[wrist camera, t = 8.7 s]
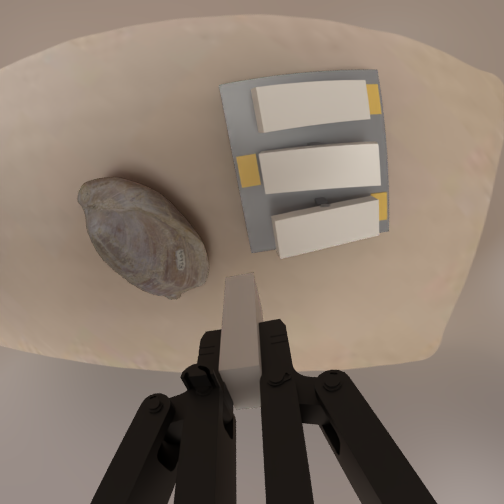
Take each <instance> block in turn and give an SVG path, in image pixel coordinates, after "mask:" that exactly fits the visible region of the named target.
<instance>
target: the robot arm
mask: <svg viewBox="0 0 504 504" xmlns="http://www.w3.org/2000/svg"><path fill="white" fill-rule="evenodd" d="M199 348H200V349H199V356H198V361H197V364H194V365H191V366H189V367H188V368H186V369H185V370H184V371H183V372H182V375H181V379H182V381H183V383H184V385H185V386H186V388H187V391H186V392H184V393H182V394H180V395H177V396H174V397H171V398H168V397H167V396H166V395H164V394H161V393H157V394H153V395H150V396H148V397H147V398H146V399H145V400H144V401H143V402H142V404H141V406H140V407H139V409H138V411H137V413H136V415H135V417H134V419H133V421H132V423H131V425H130V426H129V428H128V430H127V432H126V434H125V436H124V438H123V440H122V442H121V444H120V446H119V448H118V450H117V452H116V454H115V456H114V458H113V459H112V461H111V463H110V466H109V467H108V469H107V472H106V473H105V475H104V477H103V480H102V481H101V483H100V485H99V487H98V489H97V491H96V493H95V495H94V497H93V499H92V502H91V504H168V501H169V498H170V496H171V493H172V491H173V488H174V485H175V483H176V486H175V497H174V504H236V419H235V416H234V414H233V405H234V407H235V408H236V410H240V409H249V408H257V407H261V417H262V436H263V453H264V471H265V487H266V488H265V490H266V504H314V501H313V493H312V486H311V480H310V472H309V465H308V459H307V452H306V445H305V439H304V433H303V426H302V423H307V424H318V425H319V426H320V428H321V430H322V432H323V434H324V436H325V438H326V439H327V441H328V443H329V445H330V447H331V449H332V450H333V452H334V454H335V456H336V458H337V460H338V461H339V463H340V465H341V467H342V469H343V471H344V472H345V474H346V476H347V478H348V480H349V481H350V483H351V485H352V487H353V489H354V491H355V492H356V494H357V496H358V498H359V500H360V501H361V503H362V504H437V503H436V501H435V500H434V498H433V497H432V495H431V494H430V493H429V491H428V489H427V488H426V487H425V485H424V484H423V482H422V481H421V479H420V478H419V476H418V475H417V473H416V472H415V471H414V469H413V468H412V466H411V465H410V464H409V462H408V460H407V459H406V458H405V456H404V455H403V453H402V452H401V450H400V449H399V447H398V446H397V445H396V443H395V442H394V440H393V439H392V437H391V436H390V435H389V433H388V432H387V430H386V429H385V427H384V426H383V425H382V423H381V422H380V420H379V419H378V418H377V416H376V414H375V413H374V412H373V410H372V409H371V407H370V406H369V404H368V403H367V402H366V400H365V399H364V397H363V396H362V394H361V393H360V392H359V390H358V389H357V387H356V386H355V385H354V383H353V382H352V380H351V379H350V377H349V376H348V375H347V374H346V373H345V372H342V371H340V370H329V371H325V372H323V373H322V374H320V375H319V376H318V377H307V376H303V375H301V374H299V373H297V372H296V371H295V369H294V368H293V365H292V359H291V353H290V348H289V342H288V336H287V331H286V325H285V324H284V323H283V322H282V321H281V320H280V319H277V320H271V321H266V322H263V312H262V307H261V303H260V299H259V295H258V290H257V286H256V282H255V277H254V273H253V272H252V273H247V274H242V275H236V276H231V277H226V281H225V293H224V305H223V317H222V329H221V330H214V331H207V332H205V334H204V335H203V337H202V338H201V341H200V347H199Z"/></svg>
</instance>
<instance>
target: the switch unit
mask: <svg viewBox="0 0 504 504" xmlns="http://www.w3.org/2000/svg"><path fill="white" fill-rule="evenodd" d="M334 80H365V81H366V88H367V94H368V102H369V110H370V118H371V119H366V120H354V121H344V122H335V123H327V124H319V125H311V126H304V127H297V128H290V129H284V130H278V131H272V132H266V133H259V132H258V127H257V122H256V116H255V110H254V105H253V100H252V94H251V89H253V88H255V87H261V86H270V85H278V84H288V83H300V82H314V81H334ZM219 88H220V93H221V98H222V104H223V109H224V114H225V119H226V124H227V129H228V134H229V140H230V145H231V150H232V155H233V160H234V165H235V170H236V176H237V181H238V186H239V191H240V196H241V201H242V206H243V211H244V217H245V222H246V227H247V232H248V237H249V242H250V247H251V252H252V253H256V252H262V251H268V250H275V249H276V244H275V238H274V231H273V225H272V219H271V216H274V215H278V214H283V213H288V212H292V211H297V210H302V209H307V208H311V207H316V206H320V205H321V204H331V203H336V202H341V201H346V200H351V199H357V198H362V197H367V196H373V197H375V198H376V199H378V200H379V233H381V232H388V231H389V185H388V162H387V147H386V134H385V124H384V114H383V106H382V98H381V90H380V83H379V77H378V70H335V71H318V72H305V73H295V74H285V75H277V76H269V77H262V78H256V79H249V80H243V81H237V82H232V83H227V84H222V85H219ZM372 141H375V142H377V143H378V146H379V160H380V177H381V186H362V187H346V188H332V189H319V190H306V191H295V192H284V193H274V194H265V188H264V182H263V177H262V171H261V165H260V159H259V153H260V152H261V151H267V150H275V149H284V148H293V147H302V146H313V145H319V144H323V145H324V144H337V143H352V142H372Z"/></svg>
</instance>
